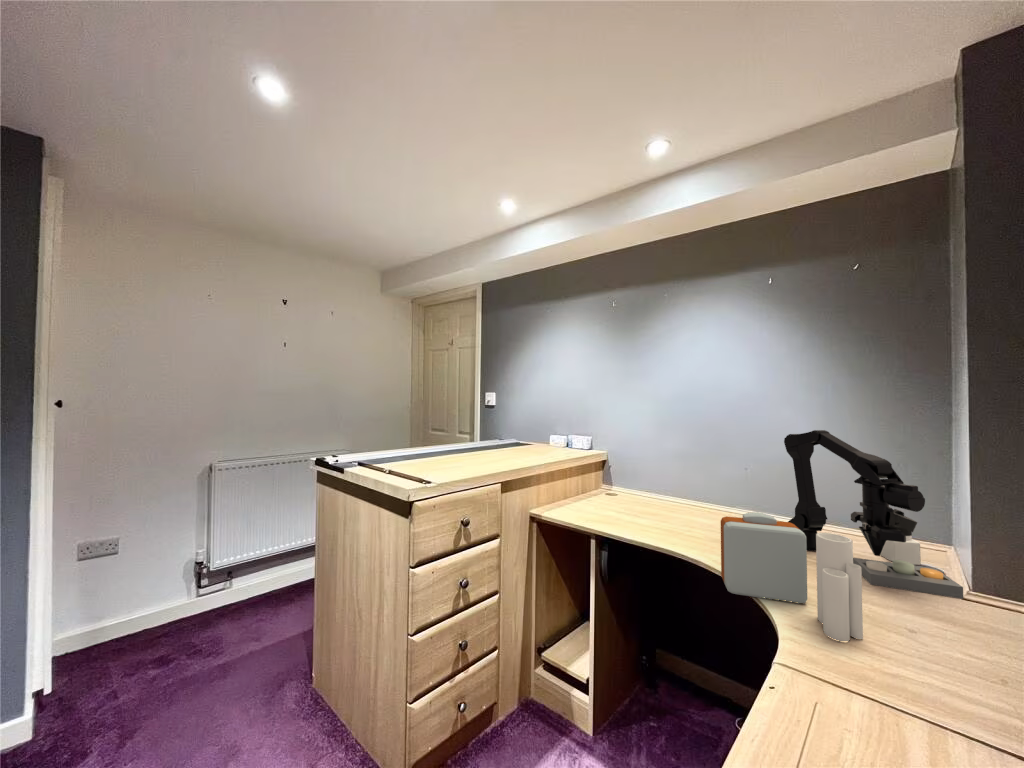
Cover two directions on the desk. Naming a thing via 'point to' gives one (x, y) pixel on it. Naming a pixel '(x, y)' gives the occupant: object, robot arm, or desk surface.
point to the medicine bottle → (902, 549)
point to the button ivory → (876, 566)
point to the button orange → (931, 573)
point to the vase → (838, 587)
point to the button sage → (903, 567)
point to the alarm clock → (764, 557)
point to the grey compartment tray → (909, 580)
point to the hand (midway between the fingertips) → (876, 555)
